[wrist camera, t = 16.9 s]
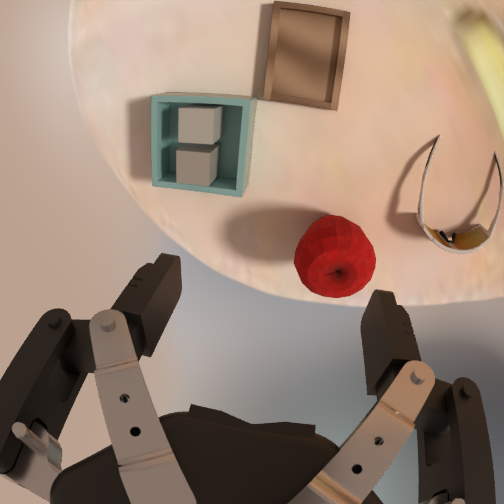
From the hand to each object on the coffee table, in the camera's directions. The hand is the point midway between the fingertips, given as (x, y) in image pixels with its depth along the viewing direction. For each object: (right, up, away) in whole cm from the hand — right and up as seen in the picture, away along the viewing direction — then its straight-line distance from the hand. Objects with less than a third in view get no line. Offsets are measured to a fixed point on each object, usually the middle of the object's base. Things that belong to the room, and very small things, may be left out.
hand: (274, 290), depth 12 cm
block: (-7, +14, +26) cm, 30 cm away
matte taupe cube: (-6, +18, +23) cm, 30 cm away
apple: (+10, +4, +30) cm, 32 cm away
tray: (+5, +24, +17) cm, 30 cm away
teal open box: (-6, +16, +25) cm, 30 cm away
